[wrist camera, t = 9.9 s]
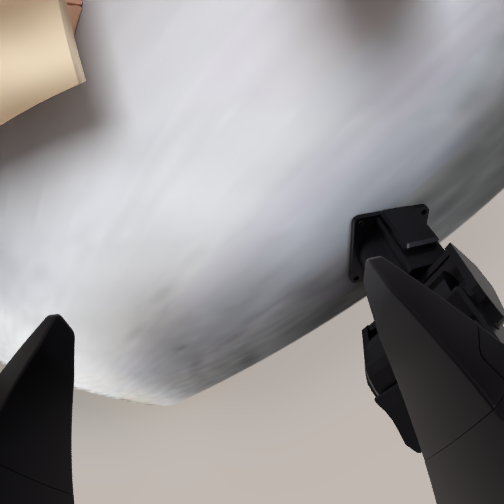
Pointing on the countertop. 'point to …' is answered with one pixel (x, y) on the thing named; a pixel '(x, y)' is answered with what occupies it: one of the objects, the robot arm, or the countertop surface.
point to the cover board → (35, 54)
